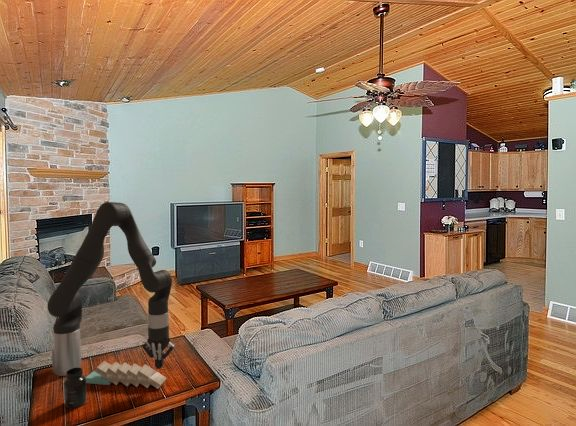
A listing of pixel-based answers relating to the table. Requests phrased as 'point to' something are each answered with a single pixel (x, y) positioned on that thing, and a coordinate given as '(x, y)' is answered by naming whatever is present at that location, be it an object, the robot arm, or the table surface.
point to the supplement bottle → (75, 388)
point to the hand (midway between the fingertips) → (159, 367)
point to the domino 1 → (97, 379)
